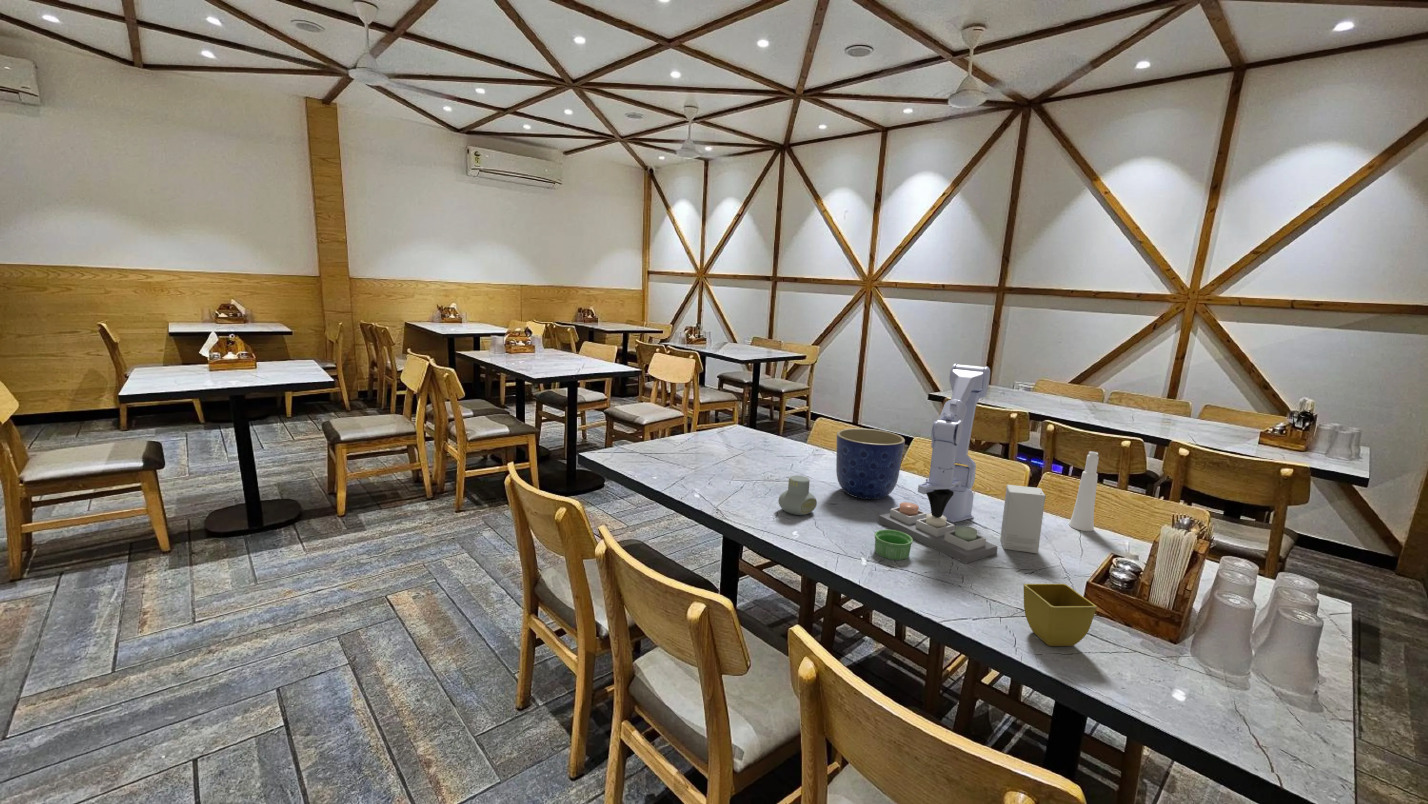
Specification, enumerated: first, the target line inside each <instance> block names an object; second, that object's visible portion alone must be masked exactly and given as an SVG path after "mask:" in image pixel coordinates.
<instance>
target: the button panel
mask: <svg viewBox="0 0 1428 804" xmlns="http://www.w3.org/2000/svg"><path fill="white" fill-rule="evenodd" d="M927 514H928V513H927V512H925V511H922V510H920V509H918V515H914V516H908V515H905V514H903V513H901V512H899V506H898V507H894V508H893V507H892V508H890V510H889V512H888V513H883V514H879V515H878V519H877V523H879V524H882V525H884V526H885V527H888V528H890V529H891V530H896V531H900V532H903V533H906V534H908V535H909V536H911V537H912V539H913V540H915V541H917V542H920V543H921V544H923V545H926V546H928V547H930V548H932V549H935V550H936V551H939V552H941V553H943V554H945V555H948V556H950V557H951V558H954V559H955V560H959V562H962V563H965V564H969V563H971V562H974V561H977V560H980V559H983V558H988V557H990V556H994V555H996V554H998V553H997V552H998V545H996V544H993V543H991V542H989V541H987V538H986V537H984V536H982V535H979V534H978V533H977V537H976V540H973V541H970V542H967V541H965V540H963V539H961V538H958V537H956V536H955V528H956V525H955V524H954V523H952V522H950V521H946V526H945V527H941V528H935V527H933V526H931V525H928V524H926V523H925V522H926V515H927Z"/></svg>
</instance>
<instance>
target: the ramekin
mask: <svg viewBox="0 0 1428 804" xmlns="http://www.w3.org/2000/svg"><path fill="white" fill-rule="evenodd" d="M874 539H875V540H874V551H875V553H876V554H877V555H878V556H880V557H883V558H885V559H888V560H892V561H901V560H906V559H907V558H908V557H909V556H910V553H911V547H912V545H913V542H914V539H913V538H912V537H911V536H909V535H908V534H906V533H903V532H900V531H896V530H894V529H880V530H877V531H876V532H875V533H874Z"/></svg>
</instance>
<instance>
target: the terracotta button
mask: <svg viewBox="0 0 1428 804" xmlns="http://www.w3.org/2000/svg"><path fill="white" fill-rule="evenodd" d="M898 507H899V512H901V513H903V514H905V515H908V516H914V515H918V510H920V509H919V508H920V507H919V505H918V504H915V503H912V502H905V501H904V502H900V503H899V505H898Z"/></svg>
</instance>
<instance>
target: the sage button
mask: <svg viewBox="0 0 1428 804" xmlns="http://www.w3.org/2000/svg"><path fill="white" fill-rule="evenodd" d="M977 534H978V530H977V529H976V528H974V527H972V526H968V525H961V524H960V525H955V536H956V537H958V538H961V539H963V540H965V541H967V542H970V541H973V540H976V537H977Z"/></svg>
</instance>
